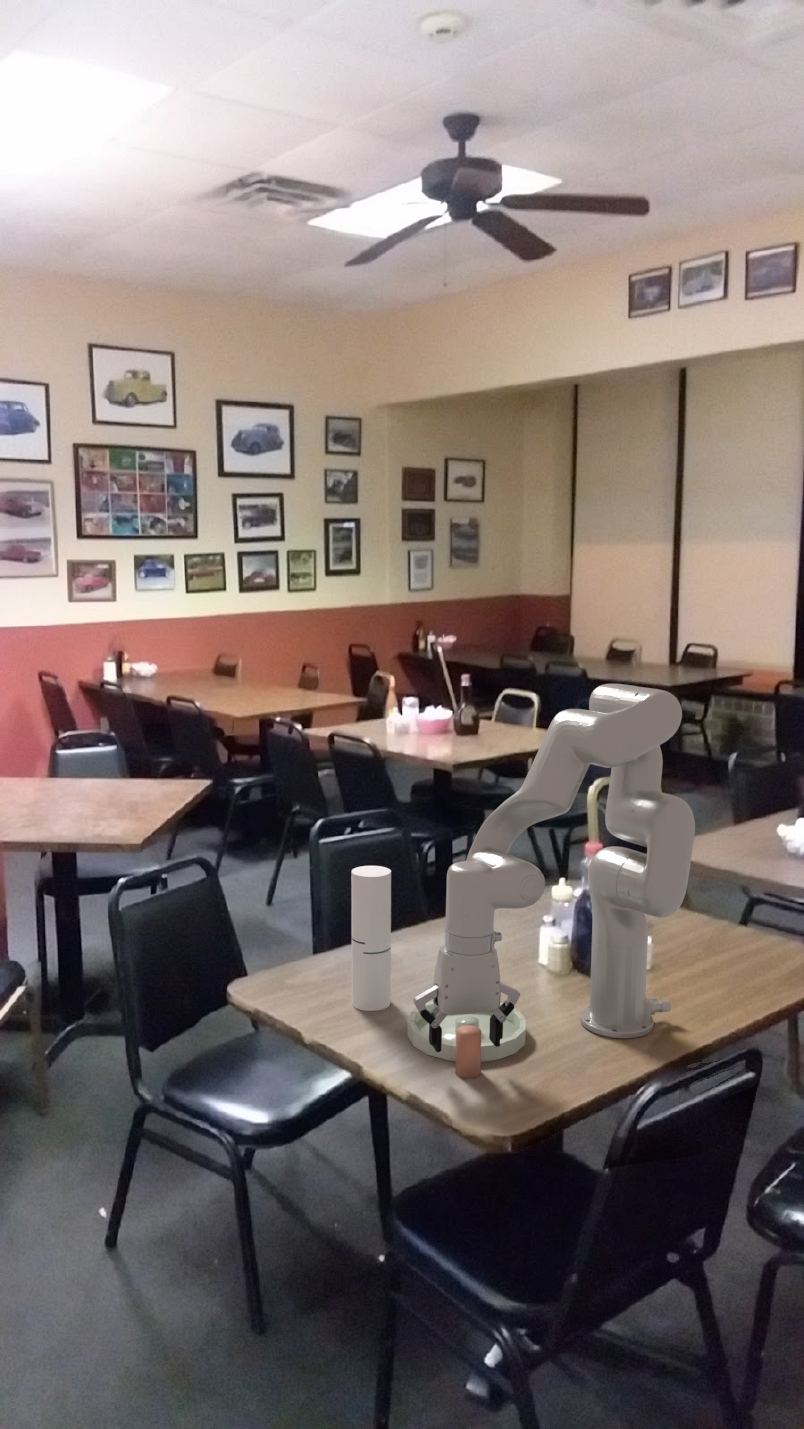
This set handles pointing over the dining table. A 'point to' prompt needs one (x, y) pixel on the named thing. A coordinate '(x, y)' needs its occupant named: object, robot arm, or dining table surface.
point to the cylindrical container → (371, 937)
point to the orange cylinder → (468, 1052)
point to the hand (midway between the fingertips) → (465, 1045)
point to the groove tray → (511, 1027)
